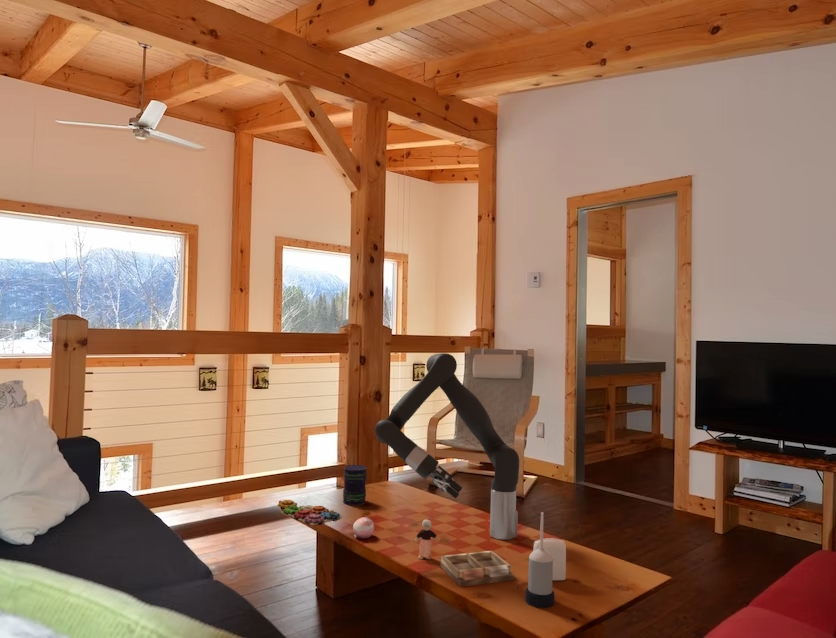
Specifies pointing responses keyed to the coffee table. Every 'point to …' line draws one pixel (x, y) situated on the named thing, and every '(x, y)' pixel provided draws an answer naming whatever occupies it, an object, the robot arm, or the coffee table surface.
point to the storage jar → (354, 485)
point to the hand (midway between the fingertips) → (458, 493)
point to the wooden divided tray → (476, 568)
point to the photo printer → (555, 556)
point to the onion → (363, 528)
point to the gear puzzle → (308, 512)
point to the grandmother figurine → (425, 540)
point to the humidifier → (540, 576)
